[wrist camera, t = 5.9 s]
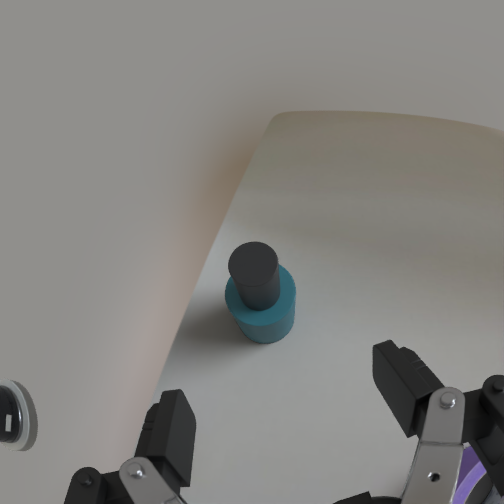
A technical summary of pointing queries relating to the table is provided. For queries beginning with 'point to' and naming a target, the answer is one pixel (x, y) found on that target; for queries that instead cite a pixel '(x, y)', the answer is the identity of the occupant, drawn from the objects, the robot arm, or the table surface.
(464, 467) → the tape roll
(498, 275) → the table surface
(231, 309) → the teal and black cylinder
